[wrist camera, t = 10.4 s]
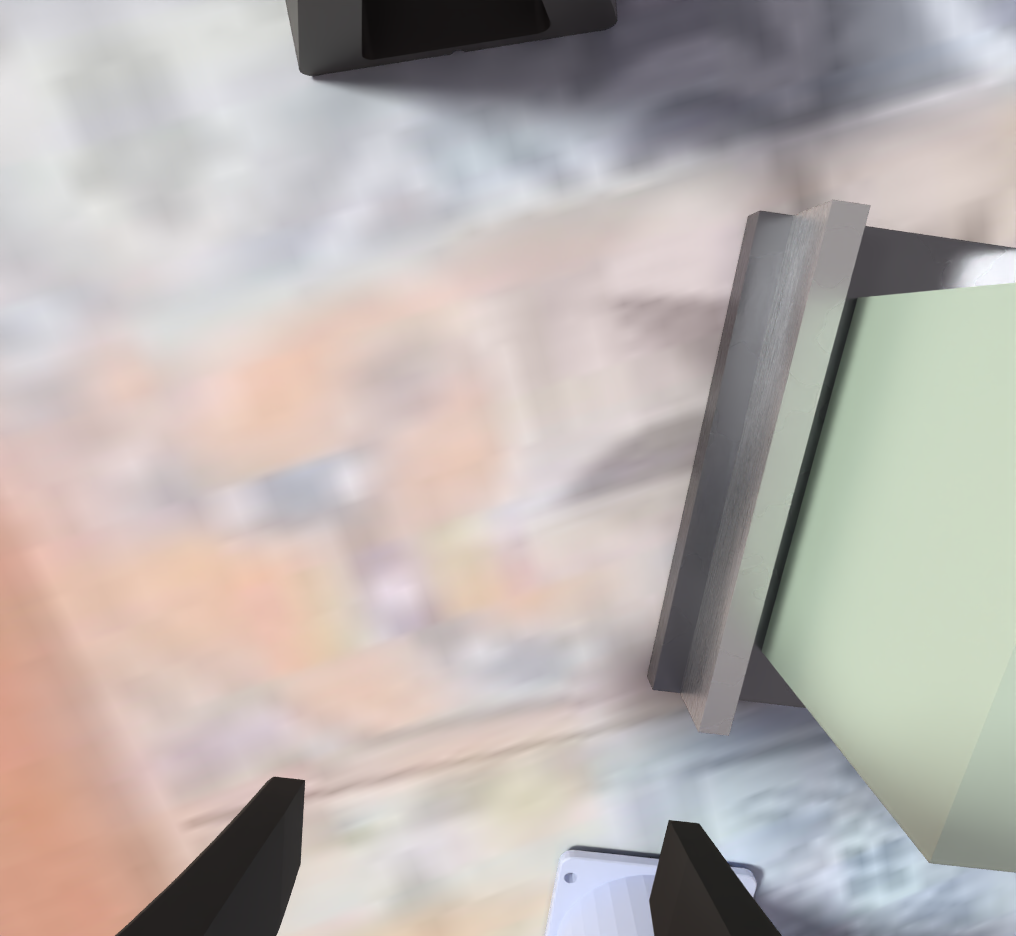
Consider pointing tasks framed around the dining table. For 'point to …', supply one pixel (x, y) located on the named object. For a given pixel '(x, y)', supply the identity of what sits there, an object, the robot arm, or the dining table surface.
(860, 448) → the door panel
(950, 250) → the track
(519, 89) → the dining table surface
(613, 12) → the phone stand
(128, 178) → the dining table surface
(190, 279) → the dining table surface
